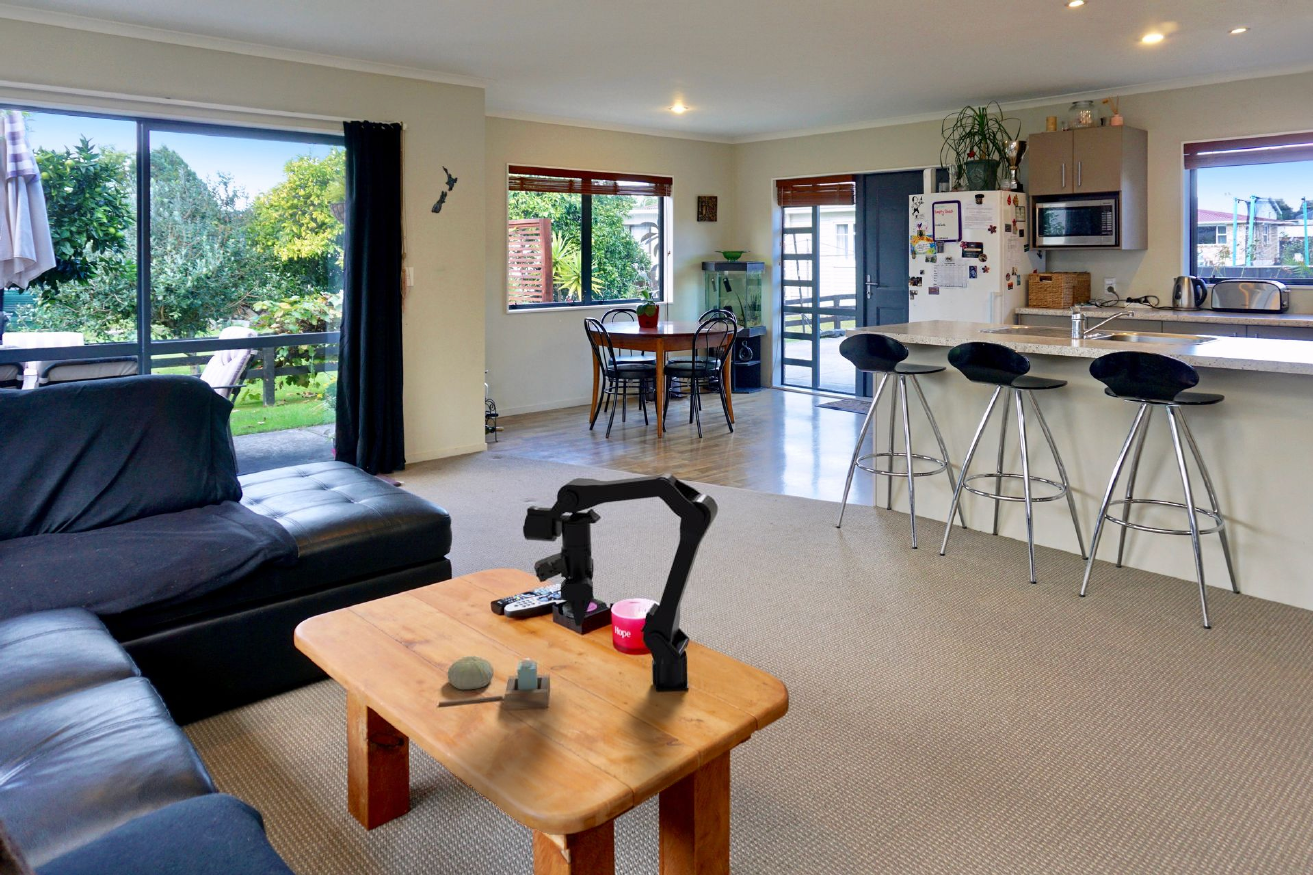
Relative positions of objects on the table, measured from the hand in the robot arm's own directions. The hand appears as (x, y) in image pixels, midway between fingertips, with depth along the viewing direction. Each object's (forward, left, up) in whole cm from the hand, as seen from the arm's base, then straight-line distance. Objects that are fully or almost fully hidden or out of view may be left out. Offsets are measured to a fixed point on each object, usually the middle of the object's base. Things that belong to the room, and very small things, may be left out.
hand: (579, 616), depth 189 cm
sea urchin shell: (+22, +1, -13) cm, 26 cm away
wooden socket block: (+10, +10, -12) cm, 19 cm away
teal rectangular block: (+10, +10, -12) cm, 19 cm away
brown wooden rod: (+21, +10, -12) cm, 26 cm away
